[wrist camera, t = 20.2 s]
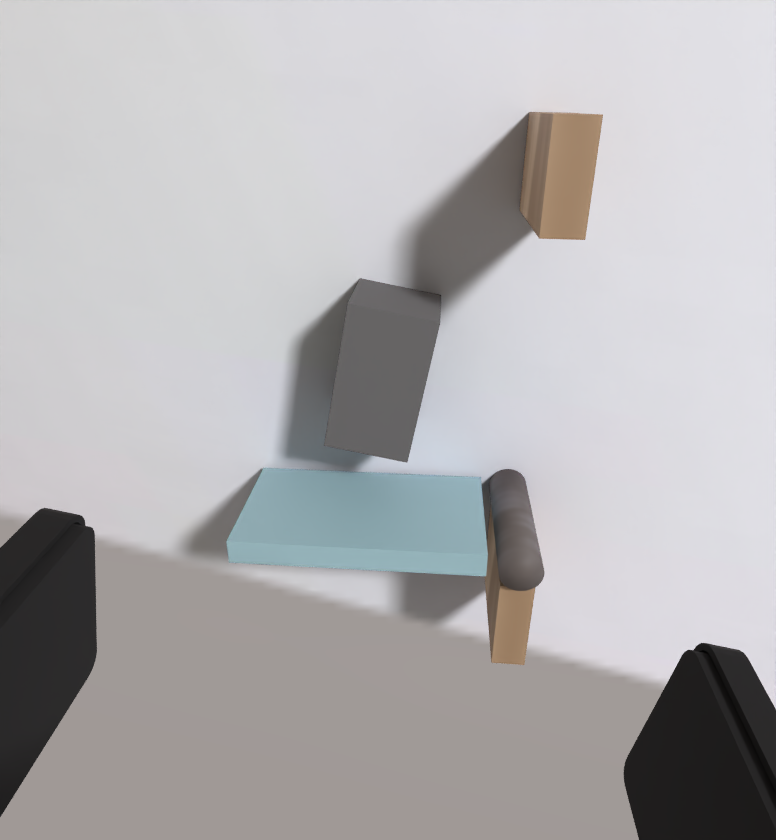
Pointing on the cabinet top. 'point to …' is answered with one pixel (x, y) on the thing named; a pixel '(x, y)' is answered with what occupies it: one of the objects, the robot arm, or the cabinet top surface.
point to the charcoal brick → (382, 369)
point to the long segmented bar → (510, 507)
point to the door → (363, 522)
